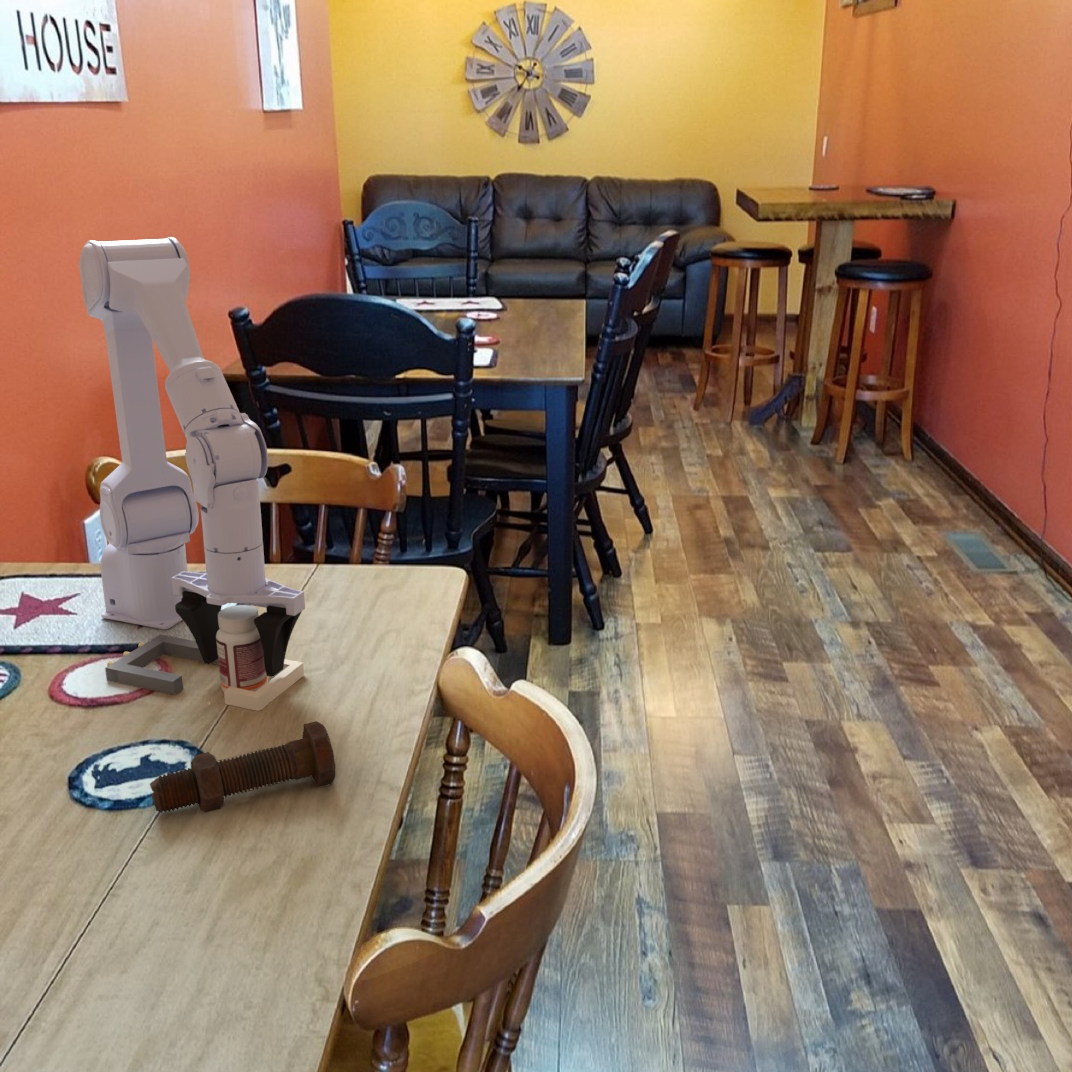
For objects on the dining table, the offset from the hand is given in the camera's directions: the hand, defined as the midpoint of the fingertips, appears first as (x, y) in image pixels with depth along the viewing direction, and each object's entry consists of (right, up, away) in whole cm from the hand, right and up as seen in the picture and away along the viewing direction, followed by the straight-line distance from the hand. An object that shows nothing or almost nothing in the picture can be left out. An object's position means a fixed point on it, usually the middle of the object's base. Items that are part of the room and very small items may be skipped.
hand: (243, 666), depth 117 cm
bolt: (+5, -9, -18) cm, 21 cm away
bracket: (+2, -2, 0) cm, 3 cm away
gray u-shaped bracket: (-10, -1, +4) cm, 11 cm away
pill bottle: (0, -2, +1) cm, 2 cm away
